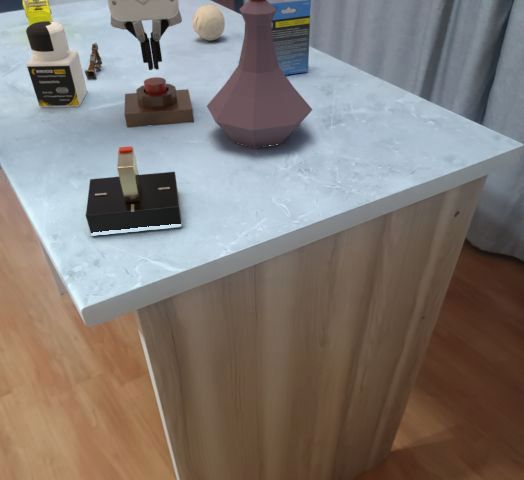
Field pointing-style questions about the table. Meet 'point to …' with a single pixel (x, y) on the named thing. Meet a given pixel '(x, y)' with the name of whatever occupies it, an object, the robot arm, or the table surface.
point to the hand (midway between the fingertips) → (153, 66)
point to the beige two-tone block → (128, 174)
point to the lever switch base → (133, 203)
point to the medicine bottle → (54, 67)
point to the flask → (258, 87)
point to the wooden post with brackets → (94, 63)
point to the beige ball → (208, 22)
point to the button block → (158, 107)
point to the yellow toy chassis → (37, 10)
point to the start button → (155, 86)
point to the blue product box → (292, 36)
